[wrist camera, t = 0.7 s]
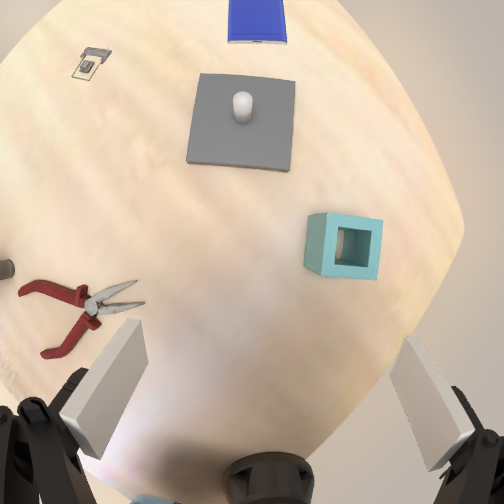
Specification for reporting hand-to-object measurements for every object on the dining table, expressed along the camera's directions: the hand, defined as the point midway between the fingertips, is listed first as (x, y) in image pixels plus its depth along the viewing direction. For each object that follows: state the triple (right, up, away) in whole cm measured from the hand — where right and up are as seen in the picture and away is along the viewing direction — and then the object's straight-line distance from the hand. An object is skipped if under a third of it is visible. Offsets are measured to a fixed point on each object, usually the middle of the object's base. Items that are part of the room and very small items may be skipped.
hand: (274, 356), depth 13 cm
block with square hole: (+8, +6, +22) cm, 24 cm away
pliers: (-26, -5, +22) cm, 34 cm away
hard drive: (0, +40, +19) cm, 44 cm away
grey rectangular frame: (-27, +37, +19) cm, 50 cm away
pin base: (-2, +21, +20) cm, 29 cm away
